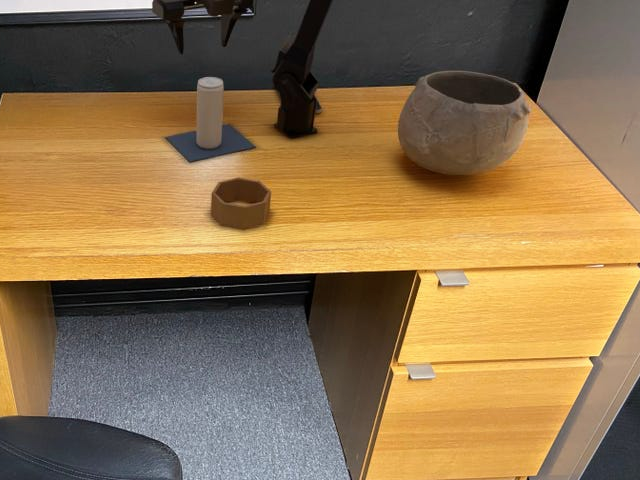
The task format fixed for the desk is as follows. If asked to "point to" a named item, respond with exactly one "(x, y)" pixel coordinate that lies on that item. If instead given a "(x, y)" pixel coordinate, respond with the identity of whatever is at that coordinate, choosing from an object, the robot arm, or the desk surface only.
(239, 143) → the cloth
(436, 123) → the clay pot
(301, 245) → the desk surface
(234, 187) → the brown octagonal cup
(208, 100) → the beverage can
